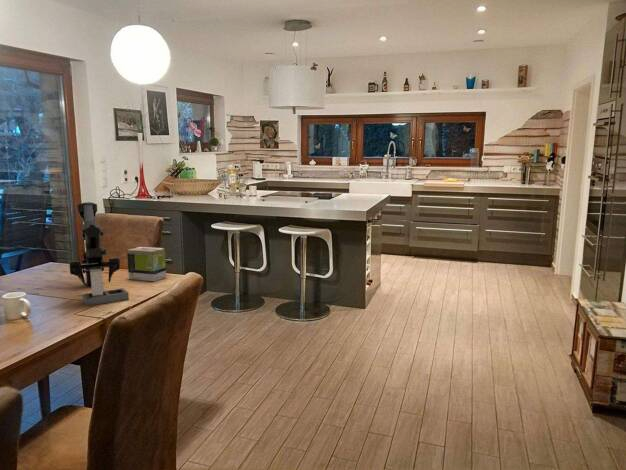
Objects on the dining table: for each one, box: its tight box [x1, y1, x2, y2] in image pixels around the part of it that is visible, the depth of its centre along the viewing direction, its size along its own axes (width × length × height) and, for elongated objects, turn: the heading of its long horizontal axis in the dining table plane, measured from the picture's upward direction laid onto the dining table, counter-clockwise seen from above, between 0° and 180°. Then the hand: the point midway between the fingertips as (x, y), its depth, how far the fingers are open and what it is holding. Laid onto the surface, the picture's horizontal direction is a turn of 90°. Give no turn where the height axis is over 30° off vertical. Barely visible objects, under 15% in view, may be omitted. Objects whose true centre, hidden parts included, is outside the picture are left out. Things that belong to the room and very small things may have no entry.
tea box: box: [126, 246, 167, 282], centre depth 234 cm, size 15×10×15 cm
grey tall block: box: [90, 267, 104, 297], centre depth 195 cm, size 4×4×14 cm
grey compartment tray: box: [81, 287, 130, 307], centre depth 198 cm, size 8×16×3 cm, turn 127°
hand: (97, 283), depth 194 cm, fingers open, 9 cm apart
